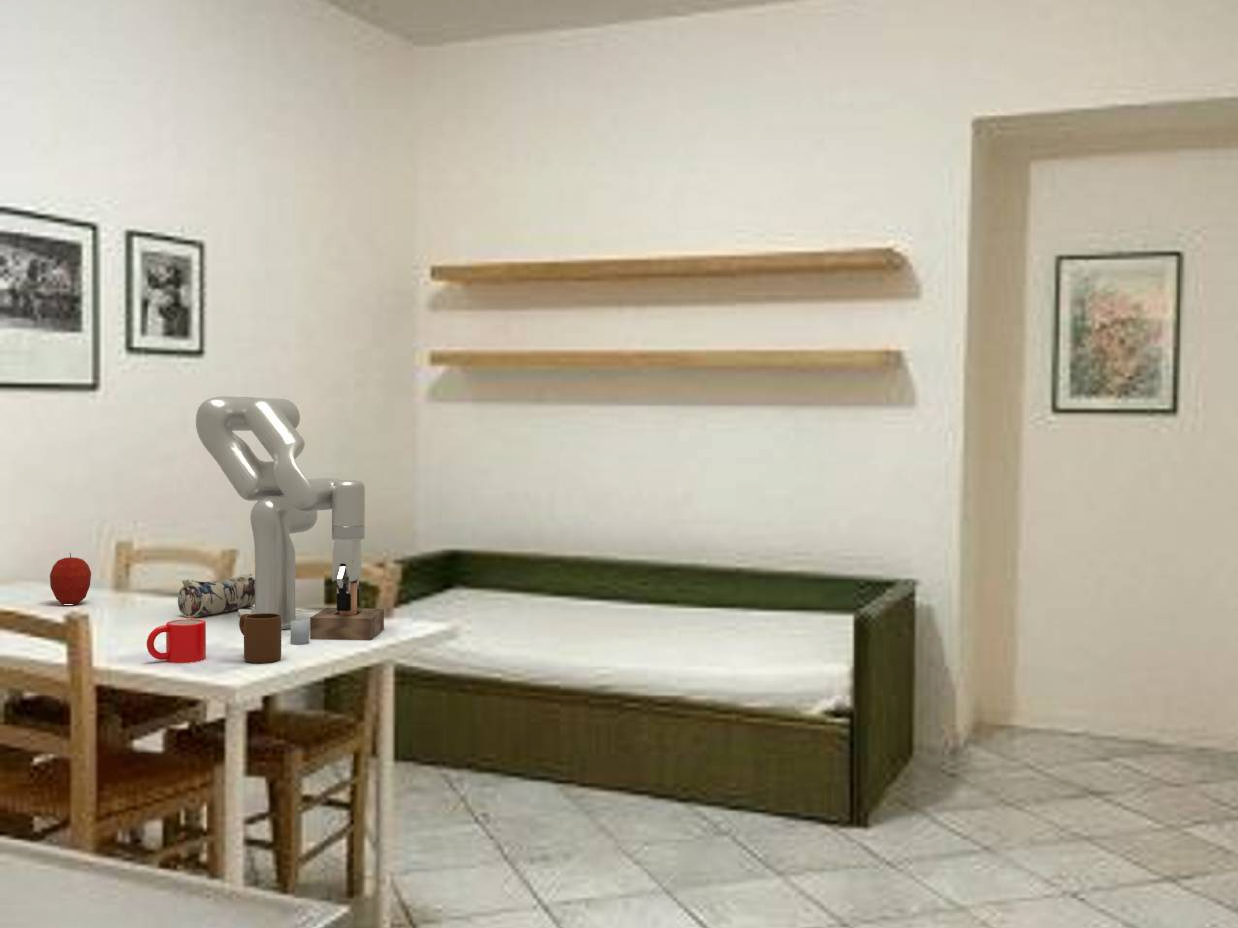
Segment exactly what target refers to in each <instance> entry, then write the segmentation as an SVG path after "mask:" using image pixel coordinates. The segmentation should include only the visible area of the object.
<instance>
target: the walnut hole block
mask: <svg viewBox="0 0 1238 928" xmlns="http://www.w3.org/2000/svg"><path fill="white" fill-rule="evenodd" d="M384 629H385V608H361V607H360V608H359V607H357V615H340V611H337V607H325V608H323V609H322V610H320V611H318V612H317V613H315V614H313V615H312V616H310V618H309V640H337V641H338V640H339V641H341V640H343V641H344V640H345V641H346V640H347V641H372V640H373V639H374V638H376V637H377V636H378V635H380V634H381V632H383V631H384Z"/></svg>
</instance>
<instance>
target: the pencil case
mask: <svg viewBox="0 0 1238 928" xmlns="http://www.w3.org/2000/svg"><path fill="white" fill-rule="evenodd" d="M181 583H182V585H183V586H182V587H181V588H180V589H179V591H178V595H177V606H178V607H177V608H178V610H179V613H181V615H182V617H184V618H186V619H195V618H196V619H197V618H201V617H208V616H211V615H217V614H222V613H223V614H224V613H228V612H233V611H237V610H239V609H249V608H253V607H254V606H255V576H254V577H253V574H252V573H246V574H245V573H244V574H240V575H238V576H236V577H233V578H230V579H220V580H208V581H199V580H194V579H191V580H190V579H182V580H181Z"/></svg>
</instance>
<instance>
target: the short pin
mask: <svg viewBox="0 0 1238 928" xmlns="http://www.w3.org/2000/svg"><path fill="white" fill-rule="evenodd" d="M308 644H310V620H308V619H301V620H293V621H291V628H290V645H294V646H304V645H308Z"/></svg>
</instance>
